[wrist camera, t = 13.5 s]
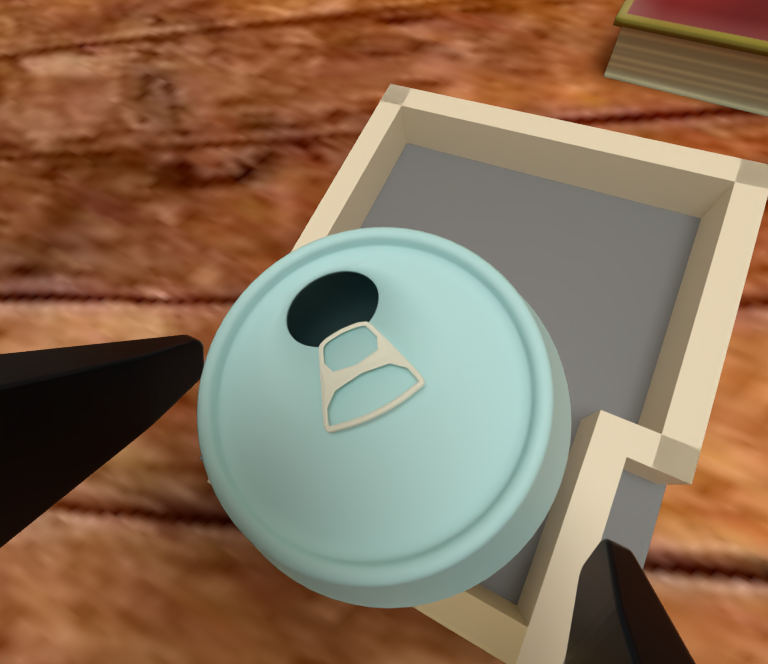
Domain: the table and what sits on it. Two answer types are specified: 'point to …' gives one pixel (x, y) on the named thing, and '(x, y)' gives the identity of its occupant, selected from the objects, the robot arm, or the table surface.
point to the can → (384, 417)
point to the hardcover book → (696, 50)
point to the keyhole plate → (573, 310)
